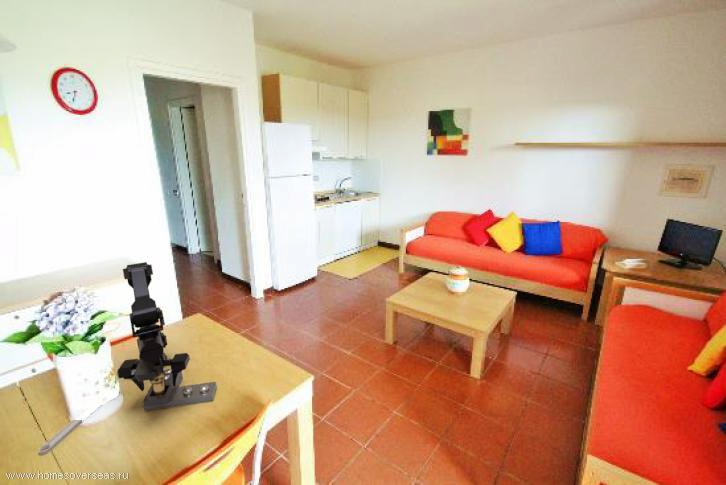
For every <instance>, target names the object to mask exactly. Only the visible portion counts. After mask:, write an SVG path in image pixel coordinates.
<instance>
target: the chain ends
mask: <svg viewBox="0 0 726 485" xmlns="http://www.w3.org/2000/svg"><path fill="white" fill-rule="evenodd" d="M171 371H172V370H171V368H167V369H166V370H164V369H163V372H162V374H164V376H165V379H164V387H165V392H166V394H165V395H158V396H155V395H154V389H153V384H150V387H149V389H148V391H147V392H146V395H145V396H144V398H143V399H142V409H143V410H142V411H143V412H148V411H152V410H153V411H154V410H161V409H167V408H168V409H169V408H174V407H182V406H186V405H194V404H200V403H201V404H202V403H208V402H213V401H214V397H215V395H216V390H217V388H218V387H217V382H216V381H211V382H203V383H197V384H190V385H183V386H182V385H181V383H182V382H183V373H182V371H183V370H182V371H181V372H179V375H178V379H177V383H176V386H175V387H174V386H173V378H172V374H171Z"/></svg>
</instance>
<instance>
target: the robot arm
mask: <svg viewBox="0 0 726 485" xmlns="http://www.w3.org/2000/svg"><path fill="white" fill-rule="evenodd" d="M122 272H123V279H124V280H127V283H128V284H127V285H129V287H131V288H132V289H133V290H132V291H133V295H134V296H133V298H134V301H133V303H132V304H131V306H130V307H131V313H129V314H128V315H129V321H130V327H131V332H132V338H136V342H137V348H138V352H139V356H138V358H132V359H125V360H124V361H123V362H122V363H121V365H120V366H119V368H118V369H117V371H116V375H117V378H118V379H123V380H131V381H132V383H134V384H135V385H136V386H137V388H139V390H140V391H141V392H143V391H144V390H145V381H150V380H153V379H155V378H156V375H158V374H159V373H162V372H163V371H164V368H165V367H170V369H171V370H172V371H171V374H172V378H173V386H174V387H175V386H176V383H177V379H178V375H179V372H181V371H184V370H186V369H187V368H188V365H189V362H190V360H191V358H190V354H189V353H187V352H184V353H183V352H182V353H176V354H174V356H173V358H169V359H167V358H168V356H167V355H166V353H165V352H164V349H166V347H167V346H168V340H167V335H166V334H165V333H164V332H162V331H164V326H165V325H166V323H165V318H164V313H163V310H162V309H161V308H160V307H157V304H156V300H155V299H154V298H151V295H150V291H149V286H150V285H151V283H152V280H153V279H152V275H154V272H153V266H152V264H148V262H147V261H145V262H138V263H132V264H126V267H125V268H123V269H122ZM158 323H159V324H158ZM135 328H136V329H135Z"/></svg>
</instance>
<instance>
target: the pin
mask: <svg viewBox="0 0 726 485" xmlns="http://www.w3.org/2000/svg"><path fill="white" fill-rule="evenodd" d="M164 379H165V376H164V374H162V373H159V374H158V375H156V378H155V379H153V380H149V382H150V385H152V384H153V389H154V395H155V396H158V395H165V394H166V392H165V387H164Z"/></svg>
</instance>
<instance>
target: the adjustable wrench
mask: <svg viewBox="0 0 726 485" xmlns="http://www.w3.org/2000/svg"><path fill="white" fill-rule="evenodd" d="M81 424H83V422H82V420H74V419H72V420H71V421H70V422H69V423H68V424H67V425H65V426H64V427H63V428H62V429H61V430H59V431H58V432H57V433H56V434H55V435H53V436H52V437H51V438H50V439H49V440H47V442H45V443H44V444H43V445H41V447H40V448H39V449H38V454H39V455H40V456H44V455H47V454H48V453H50V452H51V451H52V450H53V449H54V448H56V447H57V446H58V445H59V444H60V443H62V441H64V440H65V438H67V437H68V436H69V435H71V434H72V433H73V431H75V430H76V429H77V428H78V427H79V426H80V425H81Z"/></svg>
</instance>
